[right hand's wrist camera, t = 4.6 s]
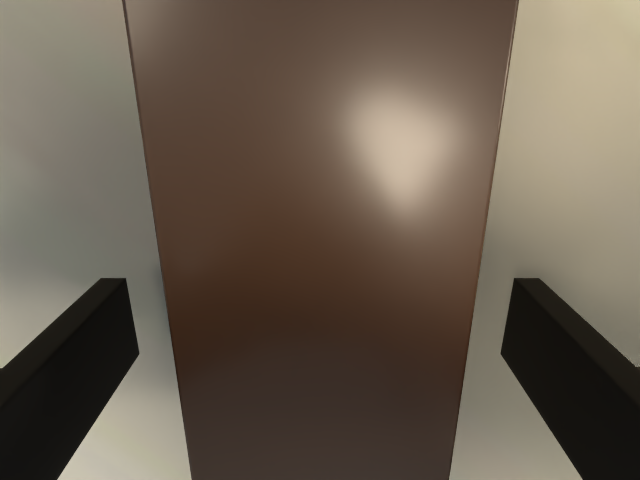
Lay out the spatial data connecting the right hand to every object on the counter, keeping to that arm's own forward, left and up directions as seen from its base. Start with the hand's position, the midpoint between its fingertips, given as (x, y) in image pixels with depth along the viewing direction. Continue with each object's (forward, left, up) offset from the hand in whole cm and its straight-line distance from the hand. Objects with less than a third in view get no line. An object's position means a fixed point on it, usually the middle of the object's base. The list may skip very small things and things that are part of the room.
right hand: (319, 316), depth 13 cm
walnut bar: (0, -9, -2) cm, 9 cm away
